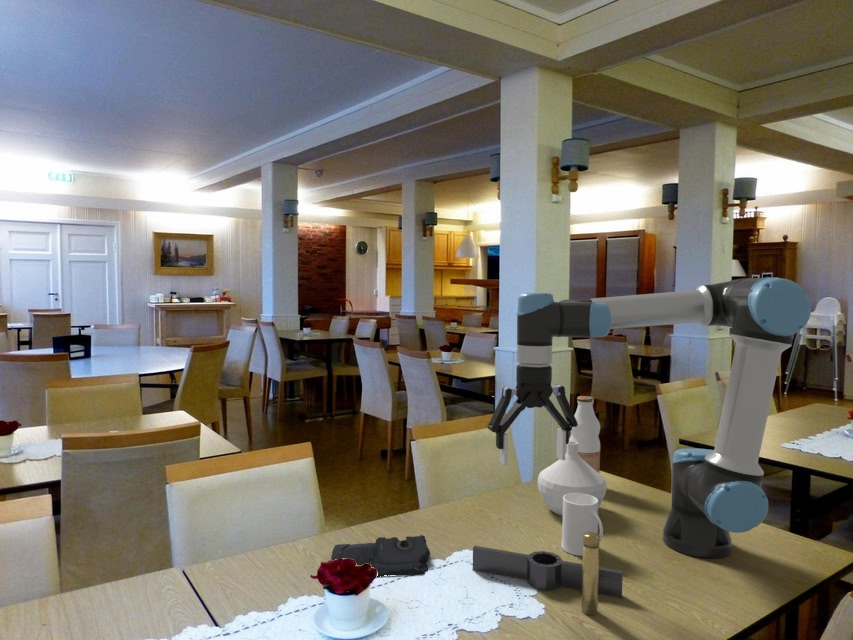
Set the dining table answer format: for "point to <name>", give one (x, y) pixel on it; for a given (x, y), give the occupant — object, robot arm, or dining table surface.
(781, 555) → the dining table surface
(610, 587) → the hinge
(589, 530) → the mug
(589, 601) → the pin
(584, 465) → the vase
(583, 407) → the fruit juice
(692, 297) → the robot arm
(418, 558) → the dark slate chunk
